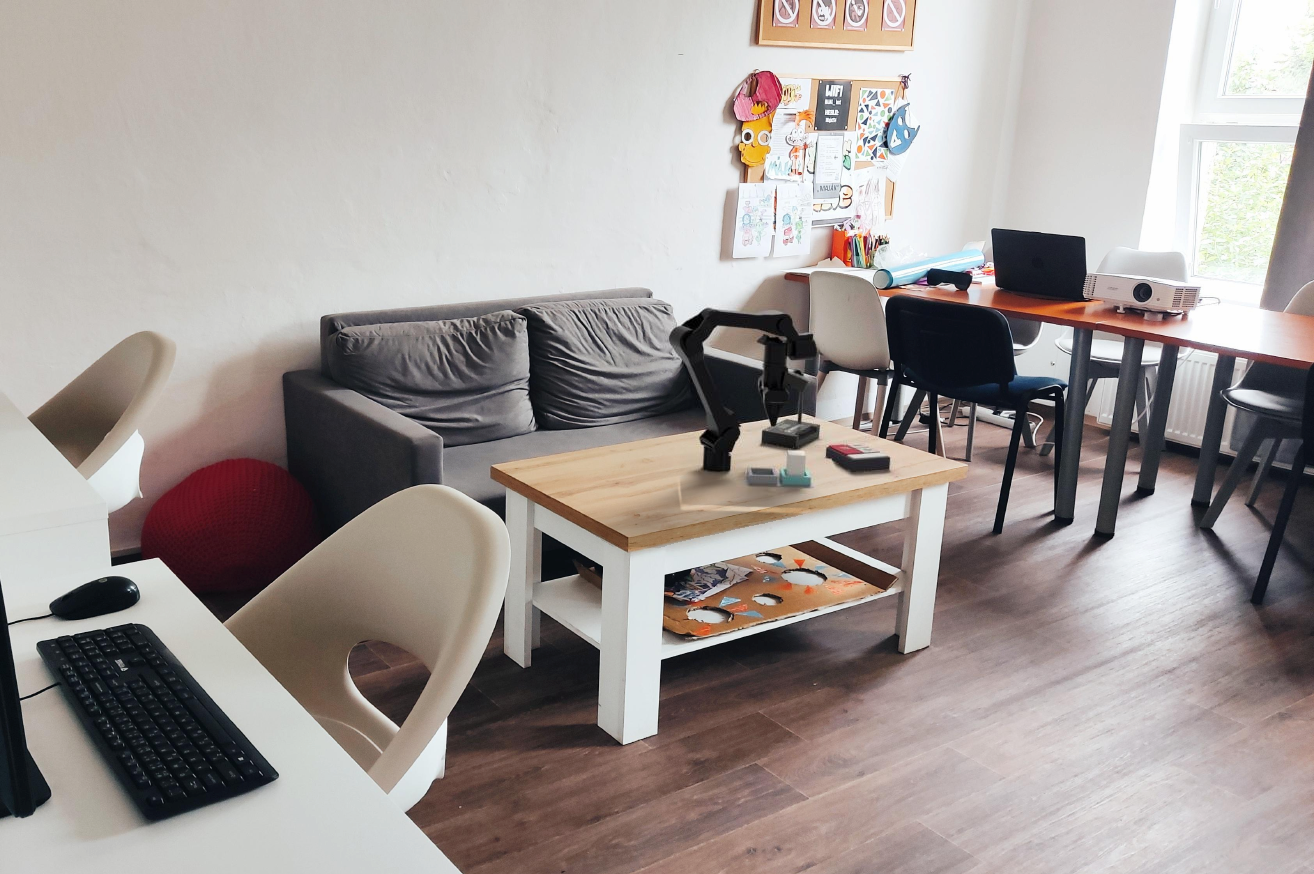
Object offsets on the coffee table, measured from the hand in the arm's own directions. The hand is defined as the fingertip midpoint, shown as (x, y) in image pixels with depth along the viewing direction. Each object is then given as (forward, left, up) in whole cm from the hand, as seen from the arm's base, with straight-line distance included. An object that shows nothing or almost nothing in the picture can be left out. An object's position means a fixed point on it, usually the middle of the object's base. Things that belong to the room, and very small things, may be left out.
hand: (771, 421), depth 277 cm
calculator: (+24, +6, -13) cm, 28 cm away
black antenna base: (+10, +29, -12) cm, 33 cm away
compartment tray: (+1, -14, -12) cm, 18 cm away
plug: (+5, -14, -11) cm, 18 cm away
